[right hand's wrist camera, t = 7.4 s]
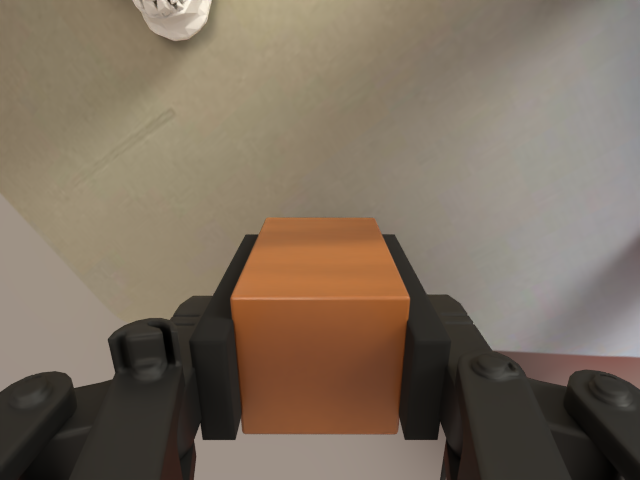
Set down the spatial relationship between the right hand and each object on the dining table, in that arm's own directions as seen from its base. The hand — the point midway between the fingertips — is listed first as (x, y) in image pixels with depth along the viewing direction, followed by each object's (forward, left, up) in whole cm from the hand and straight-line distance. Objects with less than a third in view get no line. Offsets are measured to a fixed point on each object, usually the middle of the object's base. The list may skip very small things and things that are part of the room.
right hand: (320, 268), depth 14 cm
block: (0, 0, 0) cm, 0 cm away
